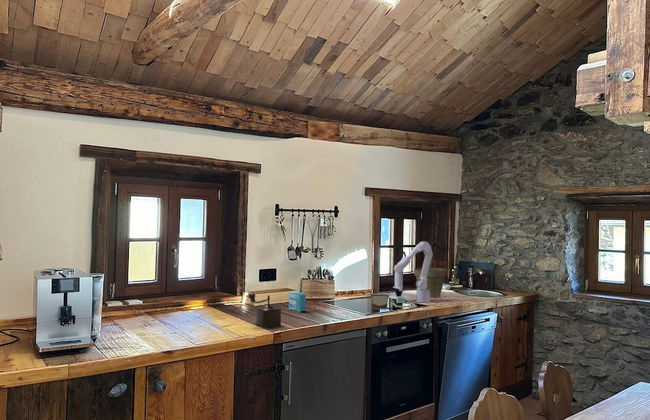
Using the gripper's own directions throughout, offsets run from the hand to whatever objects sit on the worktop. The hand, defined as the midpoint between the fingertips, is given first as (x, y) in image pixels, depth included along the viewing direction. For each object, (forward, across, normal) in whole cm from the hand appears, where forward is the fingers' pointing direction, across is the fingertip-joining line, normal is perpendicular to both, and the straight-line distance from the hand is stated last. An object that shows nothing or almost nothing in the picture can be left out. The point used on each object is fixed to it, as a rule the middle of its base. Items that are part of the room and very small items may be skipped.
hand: (398, 299), depth 346 cm
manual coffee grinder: (+2, +79, -94) cm, 122 cm away
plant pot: (+2, -25, +31) cm, 40 cm away
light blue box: (+2, +36, -75) cm, 83 cm away
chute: (+2, +11, 0) cm, 11 cm away
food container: (+2, +26, -19) cm, 33 cm away
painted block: (+2, +5, 0) cm, 5 cm away
